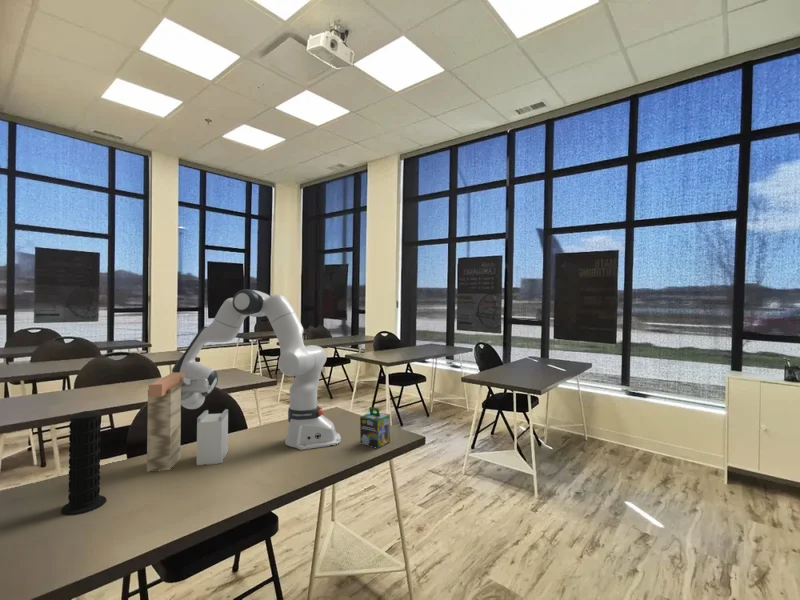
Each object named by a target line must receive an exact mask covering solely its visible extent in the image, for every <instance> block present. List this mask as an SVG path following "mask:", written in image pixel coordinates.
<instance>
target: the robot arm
mask: <svg viewBox="0 0 800 600" xmlns="http://www.w3.org/2000/svg"><path fill="white" fill-rule="evenodd" d="M250 316H251V317H255V318H258V317H261V318H264V317H266V318H267V319H268V321H269V323H270V325H271V326H270V327H272V329H273V332H274V335H275V336H276V338H277V340H278V344H279V349H280V352H279V353H280V355H279V357H278V358H279V359H278V362H277V363H278V369H279V371H280V372H281V374H283V375H284V376H288V377H295V378H294V380H293V382H292V384H291V386H290V388H289V407H288V410H287V422H288V425H287V426H288V427H287V433H286V437H285V440H284V444H285V445H286V446H288V447H291V448H292V447H293V448H296V449H298V450H300V451H301V450H309V449H310V450H311V449H316V448H324V447H330V445H333V446H337V445H339V444H340V443H341V442H342V437H341V435H340V433H338V432H337V431H336V427H335V425H334V423H333V421H331V420H330V419H329V418H327V417H326V416H324V415H323V414H324V411H323V408H322V407H321V406H319V405H318V388H319V382H320V378H321V373H322V371H323V370H322V369H323V368H324V366H325V364H326V362H327V359H328V358H327V356H328V355H327V352H326V350H325V349H324V348H323V347H322V346H319V345H316V344H315V345H314V344H310V345H309V344H308V345H305V344H304V339H303V338H304V337H303V334H304V331H305V330H304V327H303V325H302V322H301V321H300V319H299V317H298V315H297V313H296V311H295V309H294V307H293V306H292V304H291V302H289V300H288V299H287V298H286V297H285V295H283V294H279V293H278V294H273V295H271V294H269V293H266V292H264V291H263V292H262V291H260V290H256V289H255V290H254V289H249V288H247V289H241V290H239V291H237V292H236V293H234V295H233V297H229V298H227V299H225V300H224V301H223V303H222V305H221V306H220V308H219V309H218V311H217V313H216V315H215V317H214V319H213V320H212V322H211V323H210V324H209V325H208V326H203V327H202V328H200V330H199V331H198V332H197V333H196V335H195V337H194V338H193V339H192V340H191V342H190V344H189V345H188V346H187V348H186V349H185V351H184V352H183V354H182V355H181V356H180V358H179V359H178V360H177V361H176V363H175V364H174V365H173V367H172V369H171V373H174V372H185V377H180V383H183V384H181V407H183V408H185V409H188V410H196V409H199V408H200V407H201V406H203V404H204V402H205V400H206V397H207V396H209V395H210V394H211V393H212V392H213V391H214V389H215V388H216V386H217V384H218V381H219V376H218V372H217V370H215V369H212V368H210V367H208V366H206V365H203V364H202V363H200V362H197V360H196V357H197V356H198V355H199V353H200V351H201V350H202V349H203V347H204V346H205V345H206V344H207V343H227V342H230V341H233V340H234V339H235V338H236V337H237V335H238V333H239V332H240V330H241V328H242V325H243V322H244V321H245V319H246V318H248V317H250ZM157 380H158V379H151V380H150V381H149V384H151V383H153V382H155V381H157ZM149 384H148V385H149ZM339 442H340V443H339ZM338 443H339V444H338ZM336 444H337V445H336Z"/></svg>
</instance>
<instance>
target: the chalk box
mask: <svg viewBox="0 0 800 600" xmlns="http://www.w3.org/2000/svg"><path fill="white" fill-rule="evenodd" d="M359 419H360V420H359V421H360V423H359V426H360V427H359V431H360V432H359V433H360V436H359V437H360V443H362V444H361V445H363V444H365V445H364V446H366V445H369V446H368V447H370V446H372V447H371V448H374V447H376V448H375V449H377V448H378V447H380V446H381V447H383V446H384V445H383V444H385V443H387V442H388V443H390V442H391V414H390V413H385V412H380V410H379V408H378V407H372V406H370V407H369V412H367V413H365V414H363V415H361V416H360V418H359ZM389 441H390V442H389ZM388 443H387V444H388ZM382 445H383V446H382ZM385 445H386V444H385ZM381 447H380V448H381ZM378 449H379V448H378Z"/></svg>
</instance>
